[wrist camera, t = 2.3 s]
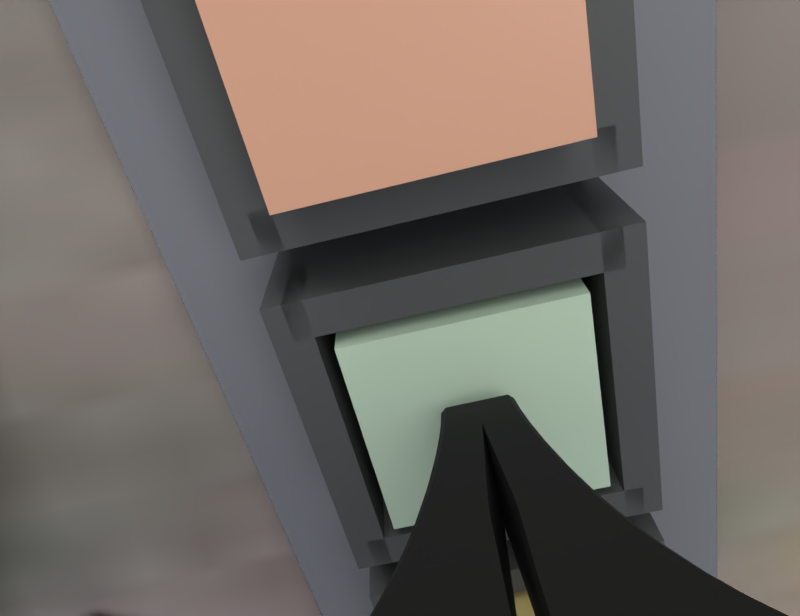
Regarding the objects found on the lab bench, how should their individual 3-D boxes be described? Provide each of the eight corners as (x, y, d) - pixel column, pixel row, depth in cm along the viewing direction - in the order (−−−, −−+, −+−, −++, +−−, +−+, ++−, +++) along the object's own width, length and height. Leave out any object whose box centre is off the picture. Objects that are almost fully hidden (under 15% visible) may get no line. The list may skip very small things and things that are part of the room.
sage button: (579, 417, 16) (610, 485, 14) (391, 456, 16) (394, 529, 14) (557, 242, 14) (589, 292, 12) (340, 292, 14) (334, 349, 12)
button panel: (689, 567, 22) (764, 708, 18) (354, 630, 23) (350, 778, 19) (661, -354, 11) (834, -544, 7) (23, -166, 12) (-161, -235, 8)
